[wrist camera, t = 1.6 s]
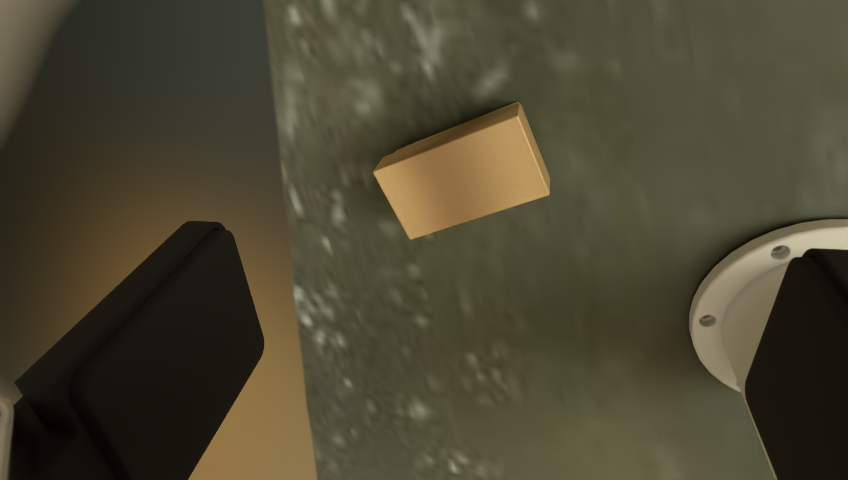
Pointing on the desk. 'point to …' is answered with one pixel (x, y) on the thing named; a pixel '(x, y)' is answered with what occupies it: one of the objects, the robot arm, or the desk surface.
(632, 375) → the desk surface
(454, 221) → the tan rectangular brick
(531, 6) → the desk surface
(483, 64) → the desk surface
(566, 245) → the desk surface
